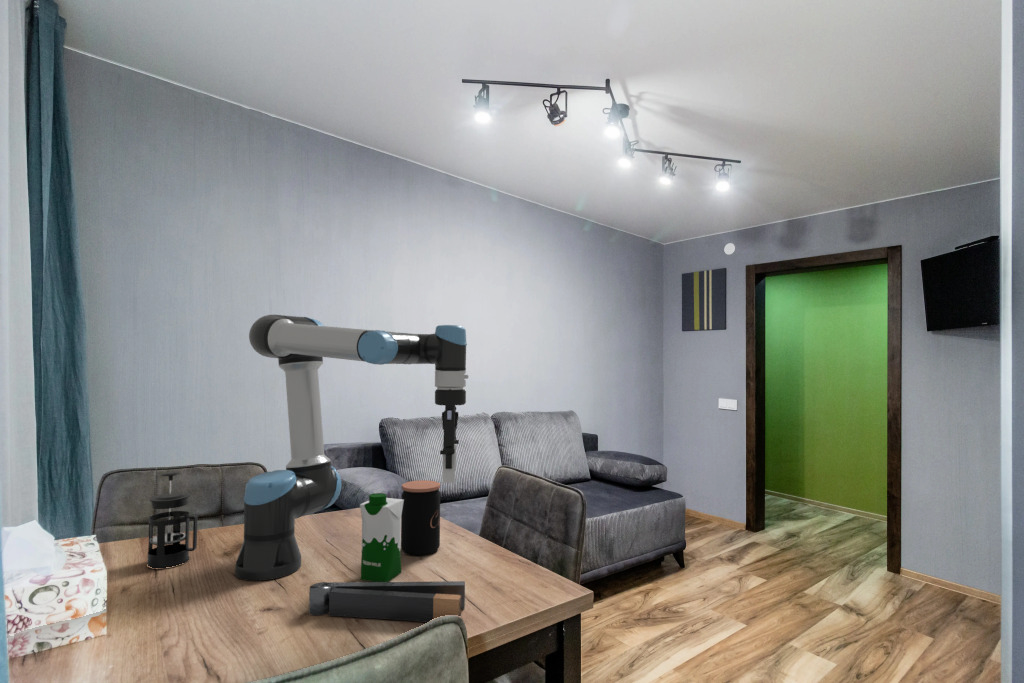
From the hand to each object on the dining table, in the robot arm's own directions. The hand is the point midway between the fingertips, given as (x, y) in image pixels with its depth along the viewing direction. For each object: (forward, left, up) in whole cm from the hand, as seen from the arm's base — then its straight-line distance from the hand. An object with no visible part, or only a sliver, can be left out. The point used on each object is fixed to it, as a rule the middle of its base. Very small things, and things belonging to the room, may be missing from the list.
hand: (449, 476), depth 131 cm
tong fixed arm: (-12, -17, -24) cm, 32 cm away
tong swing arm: (-9, -20, -24) cm, 33 cm away
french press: (-72, +12, -24) cm, 77 cm away
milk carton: (-16, +2, -24) cm, 30 cm away
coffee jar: (-9, +20, -24) cm, 33 cm away
